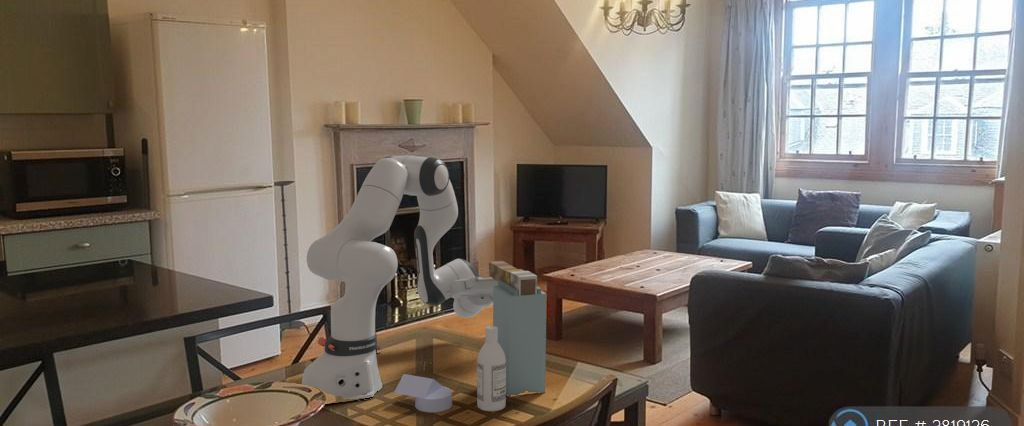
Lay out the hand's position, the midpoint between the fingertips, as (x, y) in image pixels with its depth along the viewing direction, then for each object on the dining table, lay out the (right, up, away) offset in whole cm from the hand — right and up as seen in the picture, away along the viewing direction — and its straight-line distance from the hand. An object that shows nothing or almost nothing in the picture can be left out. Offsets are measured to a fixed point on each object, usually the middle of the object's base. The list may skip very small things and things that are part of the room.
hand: (491, 278), depth 221 cm
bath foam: (+1, -29, -30) cm, 41 cm away
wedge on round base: (-15, -29, -28) cm, 43 cm away
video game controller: (-38, -23, +12) cm, 46 cm away
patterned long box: (+6, -1, -14) cm, 15 cm away
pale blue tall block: (+7, -27, -16) cm, 32 cm away
